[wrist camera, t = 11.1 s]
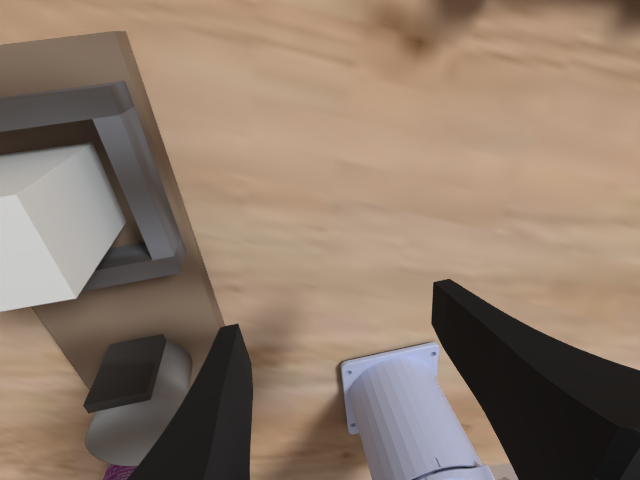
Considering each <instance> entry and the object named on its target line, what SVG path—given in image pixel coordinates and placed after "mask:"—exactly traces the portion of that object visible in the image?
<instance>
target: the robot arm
mask: <svg viewBox="0 0 640 480" xmlns="http://www.w3.org/2000/svg"><path fill="white" fill-rule="evenodd" d="M431 323H432V325H433V328H434V330H435V332H436V334H437V336H438V338H439V340H440V342H441V344H442V346H443V348H444V350H445V351H446V353H447V354H448V356H449V358H450V359H451V361H452V362H453V364H454V365H455V367H456V368H457V370H458V371H459V373H460V374H461V376H462V378H463V379H464V381H465V382H466V384H467V385H468V387H469V388H470V390H471V391H472V393H473V394H474V396H475V397H476V399H477V400H478V402H479V404H480V405H481V407H482V409H483V410H484V412H485V414H486V416H487V418H488V420H489V421H490V423H491V425H492V427H493V429H494V431H495V433H496V435H497V437H498V439H499V441H500V443H501V445H502V447H503V449H504V451H505V453H506V455H507V457H508V459H509V461H510V463H511V465H512V466H513V469H514V471H515V473H516V475H517V477H518V479H519V480H640V371H639V370H636V369H633V368H630V367H627V366H624V365H621V364H618V363H615V362H612V361H609V360H606V359H603V358H601V357H598V356H596V355H593V354H590V353H588V352H585V351H583V350H580V349H577V348H575V347H573V346H570V345H568V344H566V343H563V342H561V341H559V340H557V339H555V338H552V337H550V336H548V335H546V334H544V333H542V332H540V331H538V330H535V329H533V328H532V327H530V326H528V325H526V324H524V323H522V322H520V321H518V320H517V319H515V318H513V317H511V316H509V315H508V314H506V313H504V312H502V311H501V310H499V309H497V308H496V307H494V306H492V305H491V304H489V303H487V302H486V301H484V300H482V299H481V298H479V297H478V296H476V295H474V294H473V293H471V292H470V291H468V290H466V289H465V288H463V287H462V286H460V285H459V284H457V283H455V282H454V281H452V280H450V279H447V280H442V281H437V282H434V284H433V303H432V322H431ZM438 356H439V346H438V344H437V343H435V342H431V343H426V344H421V345H417V346H412V347H408V348H403V349H398V350H394V351H389V352H385V353H380V354H375V355H371V356H366V357H362V358H357V359H352V360H348V361H344V362H343V363H342V364H341V375H342V383H343V392H344V401H345V410H346V418H347V427H348V432H349V434H352V435H353V434H358V433H359V434H360V437H361V441H362V445H363V448H364V452H365V455H366V459H367V463H368V466H369V470H370V473H371V477H372V480H495V478H494V476H493V474H492V472H491V471H490V469H489V467H488V465H486V464H485V465H482V463H481V461H480V459H479V457H478V455H477V454H476V452H475V450H474V448H473V446H472V444H471V443H470V441H469V439H468V437H467V435H466V433H465V432H464V430H463V428H462V426H461V424H460V422H459V421H458V419H457V417H456V415H455V413H454V411H453V410H452V408H451V406H450V404H449V402H448V400H447V399H446V397H445V395H444V393H443V391H442V389H441V387H440V386H439V384H438V382H437V380H436V376H437V366H438ZM252 401H253V383H252V368H251V361H250V358H249V355H248V352H247V349H246V346H245V343H244V340H243V337H242V334H241V331H240V328H239V325H238V324H234V325H229V326H224V327H221V328H220V329H219V330H218V332H217V335H216V337H215V340H214V342H213V344H212V346H211V349H210V351H209V353H208V355H207V357H206V359H205V361H204V363H203V365H202V367H201V369H200V371H199V373H198V375H197V377H196V379H195V381H194V383H193V384H192V386H191V388H190V390H189V391H188V393H187V395H186V397H185V398H184V400H183V402H182V403H181V405H180V407H179V408H178V410H177V412H176V413H175V415H174V416H173V418H172V419H171V421H170V422H169V424H168V425H167V427H166V428H165V430H164V431H163V433H162V434H161V436H160V437H159V438H158V440H157V441H156V442H155V444H154V445H153V447H152V448H151V449H150V451H149V452H148V453H147V455H146V456H145V457H144V459H143V460H142V461H141V462H140V464H139V465H138V466H137V467H136V469H135V470H134V471H133V472H132V474H131V475H130V476H129V477H128V478H127V479H126V480H250V441H251V422H252ZM499 480H509V479H508V478H505V477H504V478H502V479H499Z"/></svg>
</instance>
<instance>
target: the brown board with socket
mask: <svg viewBox="0 0 640 480" xmlns="http://www.w3.org/2000/svg"><path fill="white" fill-rule="evenodd" d="M91 142H93V145H94V147H95V149H96V152H97V154H98V156H99V159H100V161H101V164H102V166H103V168H104V171H105V173H106V175H107V178H108V180H109V182H110V185H111V187H112V189H113V192H114V194H115V197H116V199H117V201H118V204H119V206H120V208H121V211H122V213H123V215H124V218H125V220H126V223H125V225H124V226H123V228H122V229H121V231H120V232H119V234H118V236H117V237H116V239H115V240H114V242H113V243H112V245H111V246H110V248H109V250H108V251H107V253H106V254H105V256H104V257H103V259H102V260H101V262H100V263H99V265H98V266H97V268H96V269H95V271H94V272H93V274H92V276H91V277H90V279H89V280H88V282H87V283H86V285H85V286H84V288H83V289H82V291H81V292H80V294H79V295H78V297H77V298H76V299H70V300H65V301H59V302H53V303H47V304H42V305H36V306H31V307H32V309H33V310H34V311H35V313H36V314H37V316H38V317H39V319H40V320H41V321H42V323H43V324H44V326H45V327H46V329H47V330H48V331H49V333H50V334H51V336H52V337H53V339H54V340H55V341H56V343H57V344H58V346H59V347H60V349H61V350H62V351H63V353H64V354H65V356H66V357H67V359H68V360H69V361H70V363H71V364H72V366H73V367H74V369H75V370H76V371H77V373H78V374H79V376H80V377H81V379H82V380H83V381H84V383H85V384H86V386H87V387H88V389H89V390H90V392H89V394H88V396H87V398H86V400H85V403H84V405H83V406H84V408H85V409H86V410H87V412H88V413H92V412H95V415H94V417H93V420H92V422H91V425H90V427H89V430H88V432H87V435H86V438H85V445H86V447H87V449H88V451H89V452H90V453H91V454H92V455H93V456H95V457H96V458H98V459H99V460H102V461H104V462H107V463H110V464H114V465H120V466H138V465H139V464H140V462H141V461H142V460H143V459H144V457H145V456H146V455H147V453H148V452H149V451H150V449H151V448H152V447H153V445H154V444H155V442H156V441H157V440H158V438H159V437H160V436H161V434H162V433H163V431H164V430H165V428H166V427H167V425H168V424H169V422H170V421H171V419H172V418H173V416H174V415H175V413H176V412H177V410H178V408H179V407H180V405H181V403H182V402H183V400H184V398H185V397H186V395H187V393H188V391H189V390H190V388H191V386H192V384H193V383H194V381H195V379H196V377H197V375H198V373H199V371H200V369H201V367H202V365H203V363H204V361H205V359H206V357H207V355H208V353H209V351H210V349H211V346H212V344H213V342H214V340H215V337H216V335H217V332H218V330H219V329H220V328H221V327H224V326H225V325H224V322H223V319H222V316H221V313H220V310H219V307H218V304H217V301H216V298H215V295H214V292H213V289H212V286H211V283H210V280H209V277H208V274H207V271H206V268H205V265H204V262H203V259H202V256H201V253H200V250H199V248H198V245H197V242H196V239H195V236H194V233H193V230H192V227H191V224H190V221H189V218H188V215H187V212H186V209H185V206H184V203H183V200H182V197H181V194H180V191H179V188H178V185H177V182H176V179H175V176H174V173H173V171H172V168H171V165H170V162H169V159H168V156H167V153H166V150H165V147H164V144H163V141H162V138H161V135H160V132H159V129H158V126H157V123H156V120H155V117H154V114H153V111H152V108H151V105H150V102H149V99H148V96H147V93H146V91H145V88H144V85H143V82H142V79H141V76H140V73H139V70H138V67H137V64H136V61H135V58H134V55H133V52H132V49H131V46H130V43H129V40H128V37H127V34H126V32H121V31H113V32H104V33H96V34H88V35H79V36H71V37H62V38H54V39H46V40H37V41H29V42H21V43H12V44H4V45H0V154H7V153H15V152H22V151H30V150H38V149H45V148H53V147H60V146H68V145H75V144H83V143H91Z"/></svg>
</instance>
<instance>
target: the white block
mask: <svg viewBox="0 0 640 480" xmlns="http://www.w3.org/2000/svg"><path fill="white" fill-rule="evenodd" d="M125 223H126V220H125V218H124V215H123V213H122V211H121V208H120V206H119V204H118V201H117V199H116V197H115V194H114V192H113V189H112V187H111V185H110V182H109V180H108V178H107V175H106V173H105V171H104V168H103V166H102V164H101V161H100V159H99V156H98V154H97V152H96V149H95V147H94V145H93V142H91V143H83V144H75V145H68V146H60V147H53V148H45V149H38V150H30V151H22V152H15V153H7V154H0V312H1V311H7V310H13V309H19V308H24V307H30V306H36V305H42V304H47V303H53V302H59V301H65V300H70V299H76V298H77V297H78V295H79V294H80V292H81V291H82V289H83V288H84V286H85V285H86V283H87V282H88V280H89V279H90V277H91V276H92V274H93V272H94V271H95V269H96V268H97V266H98V265H99V263H100V262H101V260H102V259H103V257H104V256H105V254H106V253H107V251H108V250H109V248H110V246H111V245H112V243H113V242H114V240H115V239H116V237H117V236H118V234H119V232H120V231H121V229H122V228H123V226H124V225H125Z"/></svg>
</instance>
